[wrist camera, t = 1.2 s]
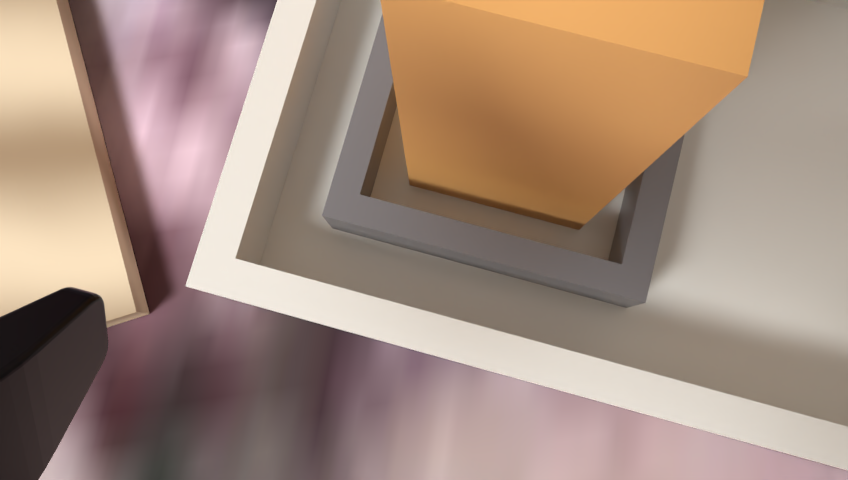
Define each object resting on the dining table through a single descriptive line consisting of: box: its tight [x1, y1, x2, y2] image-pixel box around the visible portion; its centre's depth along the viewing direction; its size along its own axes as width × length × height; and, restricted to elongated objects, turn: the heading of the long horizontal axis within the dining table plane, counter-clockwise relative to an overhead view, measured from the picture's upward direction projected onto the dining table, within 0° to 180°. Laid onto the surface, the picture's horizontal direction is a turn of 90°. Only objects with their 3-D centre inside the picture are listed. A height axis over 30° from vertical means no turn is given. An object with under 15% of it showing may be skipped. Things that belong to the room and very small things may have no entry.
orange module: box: [380, 0, 765, 230], centre depth 16 cm, size 5×5×12 cm
